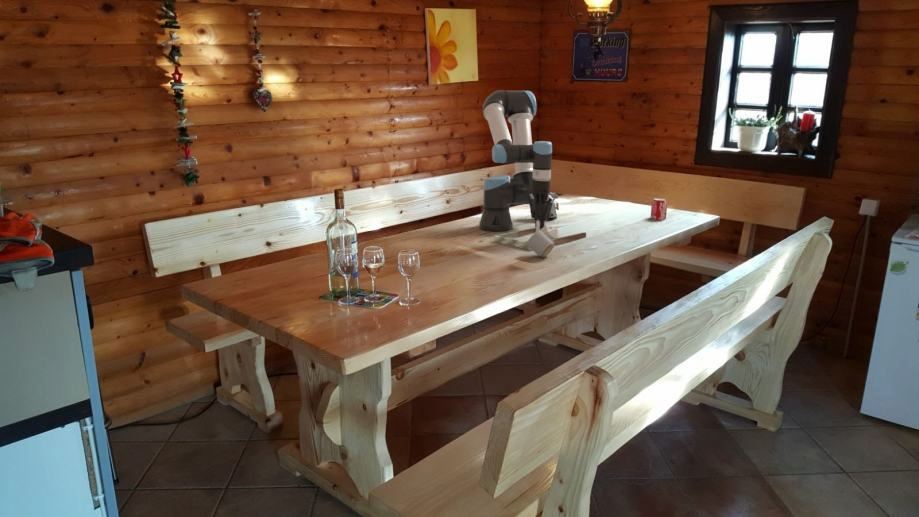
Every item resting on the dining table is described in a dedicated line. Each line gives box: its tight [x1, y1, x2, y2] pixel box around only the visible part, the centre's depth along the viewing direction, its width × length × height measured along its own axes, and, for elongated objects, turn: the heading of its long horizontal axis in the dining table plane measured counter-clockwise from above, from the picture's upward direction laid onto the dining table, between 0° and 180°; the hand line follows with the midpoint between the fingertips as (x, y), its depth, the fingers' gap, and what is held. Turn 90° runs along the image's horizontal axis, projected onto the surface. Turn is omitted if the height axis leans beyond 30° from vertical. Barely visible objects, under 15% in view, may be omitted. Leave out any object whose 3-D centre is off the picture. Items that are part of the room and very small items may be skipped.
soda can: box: [650, 197, 668, 221], centre depth 317 cm, size 7×7×12 cm
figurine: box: [545, 192, 560, 222], centre depth 318 cm, size 9×12×15 cm
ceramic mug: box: [526, 230, 555, 258], centre depth 254 cm, size 11×8×8 cm
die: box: [540, 224, 560, 239], centre depth 278 cm, size 8×9×10 cm
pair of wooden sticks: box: [493, 227, 587, 251], centre depth 282 cm, size 21×34×2 cm, turn 133°
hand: (539, 235), depth 282 cm, fingers closed
